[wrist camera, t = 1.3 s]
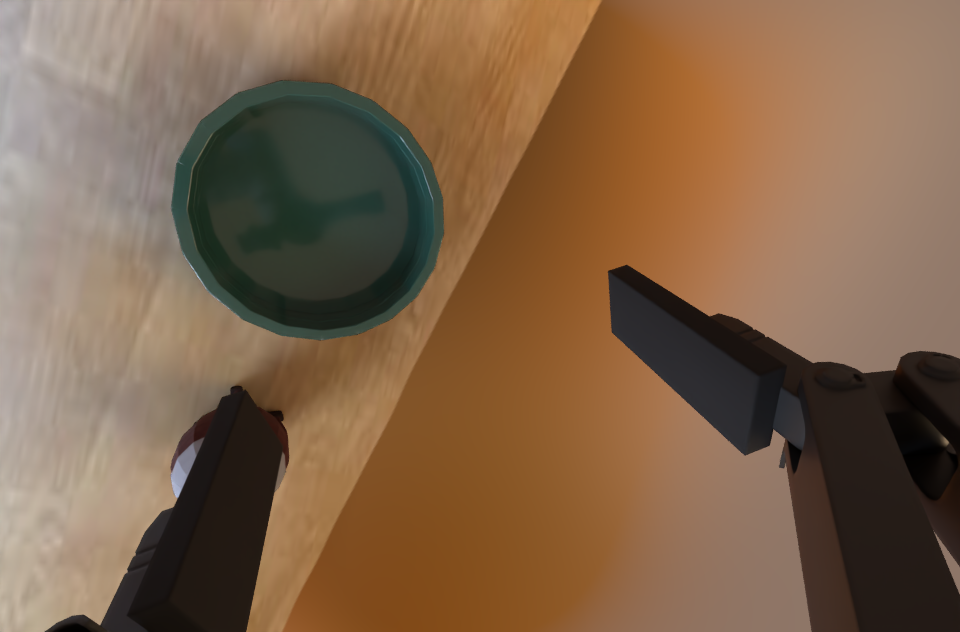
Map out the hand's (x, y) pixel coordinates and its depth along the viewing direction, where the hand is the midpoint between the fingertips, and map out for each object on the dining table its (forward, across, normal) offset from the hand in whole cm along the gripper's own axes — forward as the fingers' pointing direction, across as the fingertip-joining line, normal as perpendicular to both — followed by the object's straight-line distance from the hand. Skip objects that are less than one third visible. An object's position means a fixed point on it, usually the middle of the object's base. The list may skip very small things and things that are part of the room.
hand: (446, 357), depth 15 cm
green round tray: (+21, -5, +2) cm, 22 cm away
